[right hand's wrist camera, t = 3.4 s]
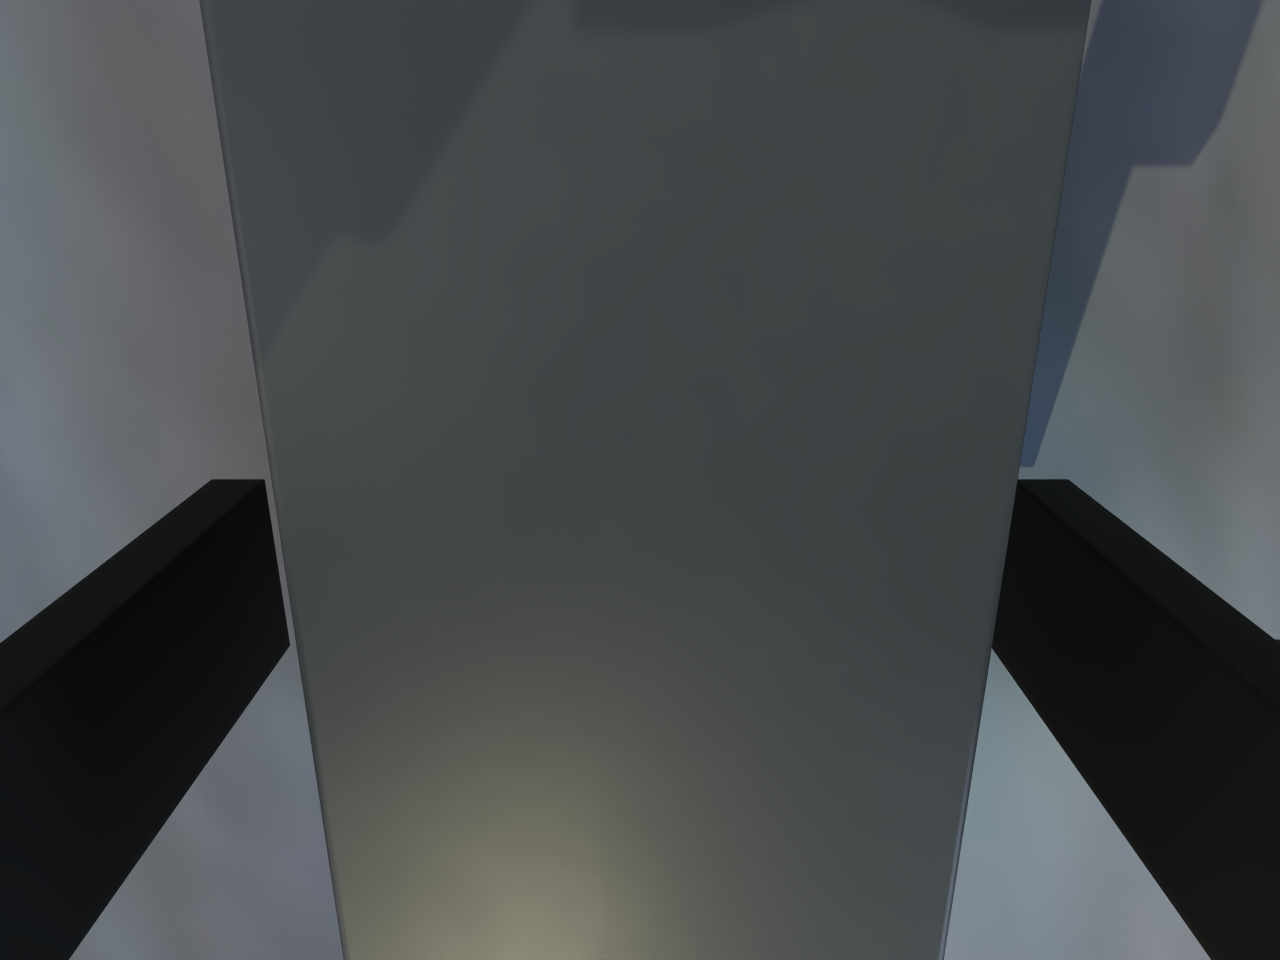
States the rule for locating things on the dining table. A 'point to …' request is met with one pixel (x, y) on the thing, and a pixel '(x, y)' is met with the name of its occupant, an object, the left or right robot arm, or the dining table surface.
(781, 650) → the bar
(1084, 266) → the dining table surface
